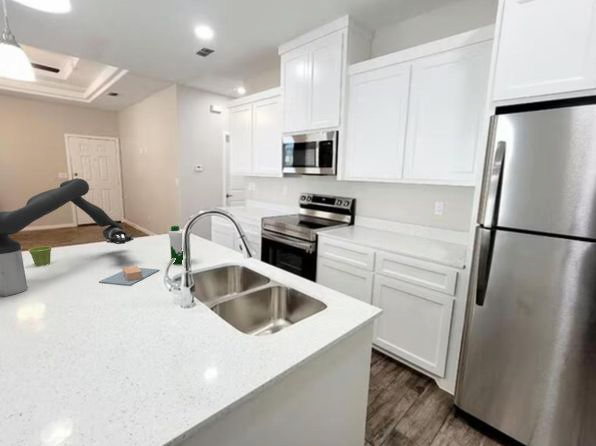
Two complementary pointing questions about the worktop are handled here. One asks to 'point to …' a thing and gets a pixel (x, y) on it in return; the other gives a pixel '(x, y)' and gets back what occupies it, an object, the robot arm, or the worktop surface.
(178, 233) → the milk carton
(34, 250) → the plant pot
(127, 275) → the terracotta block
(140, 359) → the worktop surface
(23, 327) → the worktop surface
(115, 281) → the mat
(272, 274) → the worktop surface
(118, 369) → the worktop surface
